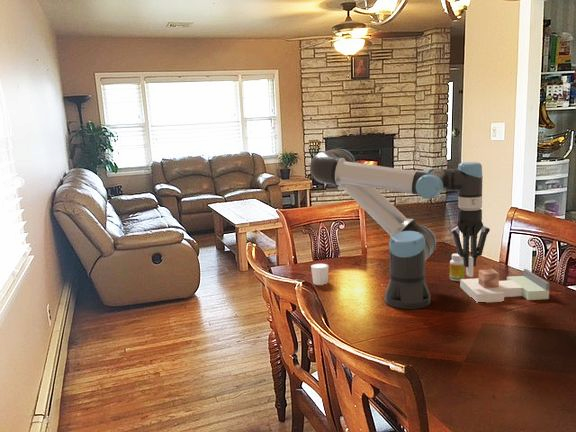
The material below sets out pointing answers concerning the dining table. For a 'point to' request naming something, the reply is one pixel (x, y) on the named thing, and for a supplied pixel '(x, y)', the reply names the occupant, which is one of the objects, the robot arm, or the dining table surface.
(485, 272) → the block
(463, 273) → the supplement bottle
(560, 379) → the dining table surface
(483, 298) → the board
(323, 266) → the white cup
